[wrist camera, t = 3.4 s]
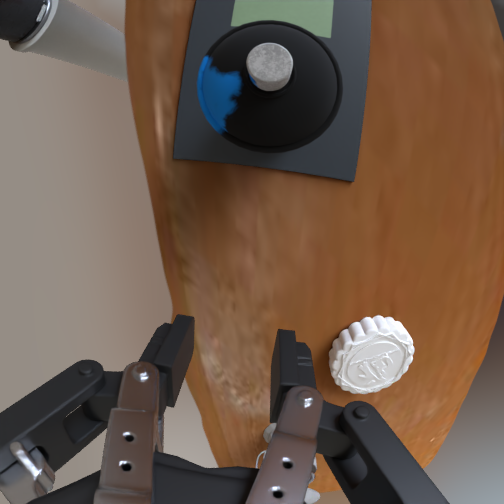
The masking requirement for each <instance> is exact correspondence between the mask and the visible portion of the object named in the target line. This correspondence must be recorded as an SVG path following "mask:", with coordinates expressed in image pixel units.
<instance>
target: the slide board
mask: <svg viewBox="0 0 504 504" xmlns="http://www.w3.org/2000/svg"><path fill="white" fill-rule="evenodd" d="M261 20H276V21H284V22H288V23H292V24H295V25H298V26H300V27H302V28H304V29H306V30H308V31H310V32H312V33H313V34H314V35H316V36H317V37H318V38H319V39H321V40H322V41H323V42H324V43H325V44H326V46H327V47H328V48H329V49H330V50H331V51H332V53H333V55H334V57H335V59H336V60H337V62H338V65H339V68H340V71H341V74H342V81H343V95H342V102H341V105H340V108H339V111H338V114H337V116H336V117H335V119H334V120H333V122H332V124H331V125H330V127H329V128H328V129H327V130H326V131H325V132H324V133H323V134H322V135H321V136H320V137H318V138H317V139H315V140H314V141H312V142H311V143H309V144H308V145H305V146H303V147H301V148H298V149H296V150H292V151H287V152H283V153H261V152H254V151H250V150H247V149H244V148H241V147H239V146H237V145H235V144H233V143H231V142H229V141H228V140H226V139H225V138H224V137H222V136H221V135H220V134H219V133H218V132H216V131H215V129H214V128H213V127H212V126H211V124H210V123H209V122H208V121H207V119H206V117H205V115H204V113H203V111H202V109H201V107H200V103H199V99H198V96H197V78H198V72H199V68H200V65H201V63H202V60H203V58H204V56H205V55H206V53H207V52H208V50H209V49H210V47H211V46H212V45H213V44H214V43H215V42H216V41H217V40H218V39H219V38H220V37H221V36H222V35H224V34H225V33H227V32H228V31H230V30H231V29H233V28H236V27H238V26H240V25H243V24H246V23H250V22H254V21H261ZM370 32H371V0H196V4H195V9H194V14H193V19H192V24H191V29H190V35H189V40H188V46H187V52H186V58H185V64H184V70H183V77H182V84H181V91H180V99H179V107H178V115H177V124H176V133H175V143H174V154H173V159H186V160H198V161H210V162H220V163H230V164H239V165H248V166H256V167H264V168H271V169H279V170H286V171H293V172H299V173H306V174H312V175H318V176H324V177H330V178H335V179H341V180H346V181H352V182H354V179H355V173H356V166H357V160H358V153H359V146H360V139H361V132H362V124H363V116H364V107H365V98H366V88H367V77H368V65H369V50H370Z"/></svg>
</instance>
